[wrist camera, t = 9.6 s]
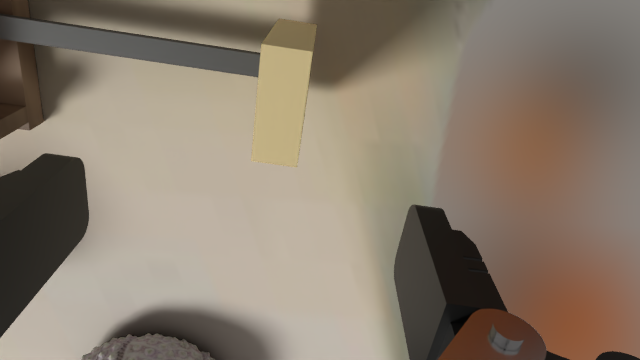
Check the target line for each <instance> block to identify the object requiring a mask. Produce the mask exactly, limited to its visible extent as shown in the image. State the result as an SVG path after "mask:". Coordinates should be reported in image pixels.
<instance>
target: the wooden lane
mask: <svg viewBox="0 0 640 360" xmlns="http://www.w3.org/2000/svg"><path fill="white" fill-rule="evenodd" d="M0 14H7V15H14V16H20V17H27V18H30V13H29V5H28V0H0ZM43 122H44V121H43V114H42V106H41V98H40V90H39V83H38V75H37V67H36V59H35V52H34V44H31V43H25V42H18V41H11V40H5V39H0V139H1V138H3V137H5V136H6V135H8V134H10V133H11V132H13V131H15V130H17V129H23V130H31V129H33V128H34V127H36V126H38V125H39V124H41V123H43Z"/></svg>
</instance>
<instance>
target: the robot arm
mask: <svg viewBox="0 0 640 360" xmlns="http://www.w3.org/2000/svg"><path fill="white" fill-rule="evenodd" d="M88 220H89V210H88V200H87V189H86V179H85V169H84V164H83V162H82V160H81V159H80V158H77V157H69V156H62V155H55V154H47V153H46V154H43V155H41V156H40V157H38V158H37V159H36V160H34V161H33V162H32V163H30V164H29V165H28V166H26V167H25V168H24V169H22V170H18V171H15V172H12V173H10V174H7V175H5V176H2V177H0V338H1V336H2V335H3V334H4V333H5V331H6V330H7V329H8V328H9V327H10V325H11V324H12V323H13V322H14V321H15V319H16V318H17V317H18V316H19V315H20V313H21V312H22V311H23V310H24V308H25V307H26V306H27V305H28V304H29V302H30V301H31V300H32V299H33V298H34V296H35V295H36V294H37V293H38V292H39V290H40V289H41V288H42V287H43V285H44V284H45V283H46V282H47V281H48V279H49V278H50V277H51V276H52V275H53V273H54V272H55V271H56V270H57V269H58V267H59V266H60V265H61V264H62V262H63V261H64V260H65V259H66V258H67V256H68V255H69V254H70V253H71V252H72V250H73V249H74V248H75V247H76V246H77V244H78V243H79V242H80V241H81V239H82V238H83V236H84V234H85V232H86V229H87V226H88ZM394 280H395V285H396V291H397V296H398V301H399V306H400V311H401V317H402V322H403V327H404V332H405V337H406V343H407V348H408V353H409V358H410V360H569V359H567V358H564V357H561V356H558V355H556V354H553V353H551V352H548V351H547V350H546V346H545V343H544V341H543V339H542V337H541V336H540V335H539V333H538V332H537V331H536V330H535V329H534V328H533V327H532V326H531V325H530V324H528V323H527V322H526V321H524V320H523V319H521V318H519V317H518V316H515V315H513V314H511V313H509V312H508V311H507V309H506V307H505V305H504V303H503V301H502V299H501V297H500V295H499V292H498V290H497V288H496V286H495V284H494V282H493V280H492V278H491V276H490V274H488V270H487V268H486V265H485V263H484V262H482V257H481V255H480V253H479V251H478V249H477V247H476V245H475V244H474V243H473V242H472V241H471V240H470V239H469V238H468V237H467V236H466V235H465V234H464V233H463V232H462V231H458V230H452V229H451V227H450V225H449V222H448V220H447V217H446V215H445V212H444V210H443V209H441V208H434V207H427V206H420V205H411V207H410V208H409V211H408V214H407V217H406V221H405V225H404V228H403V232H402V236H401V239H400V243H399V247H398V250H397V254H396V258H395V265H394ZM596 360H640V359H639V358H637V357H634V356H632V355H629V354H625V353H621V352H613V351H612V352H605V353H602V354H601V355H599V356H598V357H597V359H596Z"/></svg>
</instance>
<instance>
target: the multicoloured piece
mask: <svg viewBox="0 0 640 360" xmlns="http://www.w3.org/2000/svg"><path fill="white" fill-rule="evenodd" d="M316 29H317V24H310V23H304V22H297V21H291V20H285V19H278V21H277V22H276V24H275V25H274V26H273V28H272V29H271V31H270V32H269V34H268V35H267V36H266V38H265V39H264V41H263V42H262V44H261V53H258V52H251V51H245V50H238V49H232V48H225V47H218V46H212V45H205V44H199V43H192V42H185V41H179V40H172V39H166V38H159V37H152V36H146V35H139V34H133V33H126V32H119V31H113V30H106V29H100V28H93V27H86V26H80V25H73V24H66V23H60V22H53V21H47V20H40V19H33V18H27V17H20V16H14V15H7V14H0V39H5V40H11V41H18V42H25V43H31V44H38V45H45V46H52V47H58V48H65V49H72V50H78V51H85V52H92V53H99V54H105V55H112V56H119V57H126V58H132V59H139V60H146V61H152V62H159V63H166V64H173V65H179V66H186V67H193V68H199V69H206V70H213V71H220V72H226V73H233V74H240V75H247V76H253V77H258V87H257V99H256V110H255V122H254V133H253V145H252V156H251V161H255V162H262V163H269V164H276V165H283V166H291V167H297V163H298V157H299V150H300V143H301V136H302V129H303V123H304V116H305V109H306V101H307V94H308V87H309V79H310V72H311V65H312V58H313V50H314V43H315V36H316Z"/></svg>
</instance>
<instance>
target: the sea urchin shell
mask: <svg viewBox="0 0 640 360" xmlns="http://www.w3.org/2000/svg"><path fill="white" fill-rule="evenodd" d="M82 360H215V359H212V357H210V354H209V352H207V353H205V352H200V351H199V350H198V348H197V346H196V345H192V343H188V342H187V341H186V340H185V339H183V340H178V339H177V338H176V337H174V338H172V337H170V336H168V337H164V336H162V334H161V335H159V334H158V333H157V334H155V335H153V336H152V335H151V334H149V333H148V334H146V335H145V336H141V337H136V336H132V335H130V334H128V335H127V336H126V337H125V338H124V337H120V338H118V339H117V338H112V339H111V340H110V342H106V343H103V344H102V346H100V347H95V348H93V350H92V352H91V353H89V354H86V355H83V357H82Z"/></svg>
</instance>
